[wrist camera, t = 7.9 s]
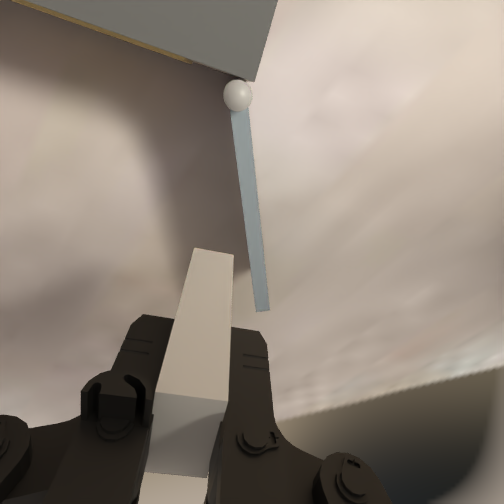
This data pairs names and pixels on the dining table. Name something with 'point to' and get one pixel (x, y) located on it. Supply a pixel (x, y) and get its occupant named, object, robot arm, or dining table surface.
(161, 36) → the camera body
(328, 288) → the dining table surface
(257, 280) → the side door
